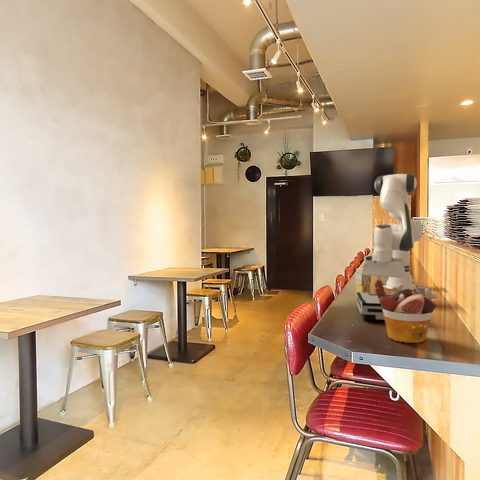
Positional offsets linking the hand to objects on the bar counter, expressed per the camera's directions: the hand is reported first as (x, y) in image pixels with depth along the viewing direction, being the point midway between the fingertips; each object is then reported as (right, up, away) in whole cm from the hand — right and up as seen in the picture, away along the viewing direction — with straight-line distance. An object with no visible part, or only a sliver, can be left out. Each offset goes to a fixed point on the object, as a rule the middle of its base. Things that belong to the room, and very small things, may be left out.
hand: (382, 285), depth 194 cm
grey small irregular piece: (+18, -9, -4) cm, 21 cm away
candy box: (-4, -8, +18) cm, 20 cm away
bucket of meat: (-15, -11, -61) cm, 64 cm away
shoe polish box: (+3, -6, +2) cm, 7 cm away
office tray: (-9, -10, -25) cm, 28 cm away
